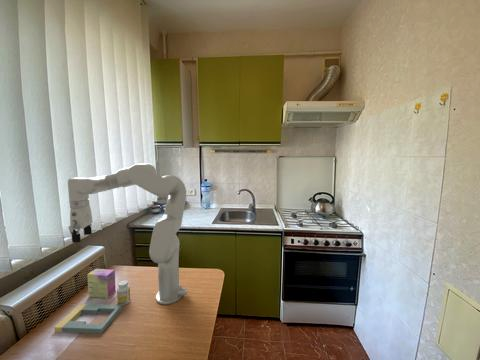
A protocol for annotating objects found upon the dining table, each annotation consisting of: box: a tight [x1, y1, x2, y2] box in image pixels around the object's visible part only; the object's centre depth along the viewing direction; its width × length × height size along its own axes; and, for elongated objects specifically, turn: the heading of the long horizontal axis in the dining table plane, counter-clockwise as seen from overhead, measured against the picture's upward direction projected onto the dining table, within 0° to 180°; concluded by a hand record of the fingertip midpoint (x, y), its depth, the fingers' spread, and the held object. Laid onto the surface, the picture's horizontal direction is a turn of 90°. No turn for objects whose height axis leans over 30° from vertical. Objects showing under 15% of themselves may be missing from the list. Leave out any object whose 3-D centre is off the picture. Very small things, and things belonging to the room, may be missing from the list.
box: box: [87, 268, 117, 299], centre depth 104 cm, size 10×6×12 cm, turn 84°
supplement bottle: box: [116, 279, 131, 306], centre depth 98 cm, size 5×5×10 cm
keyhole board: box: [53, 303, 123, 335], centre depth 88 cm, size 19×13×2 cm
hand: (82, 238), depth 101 cm, fingers open, 9 cm apart
